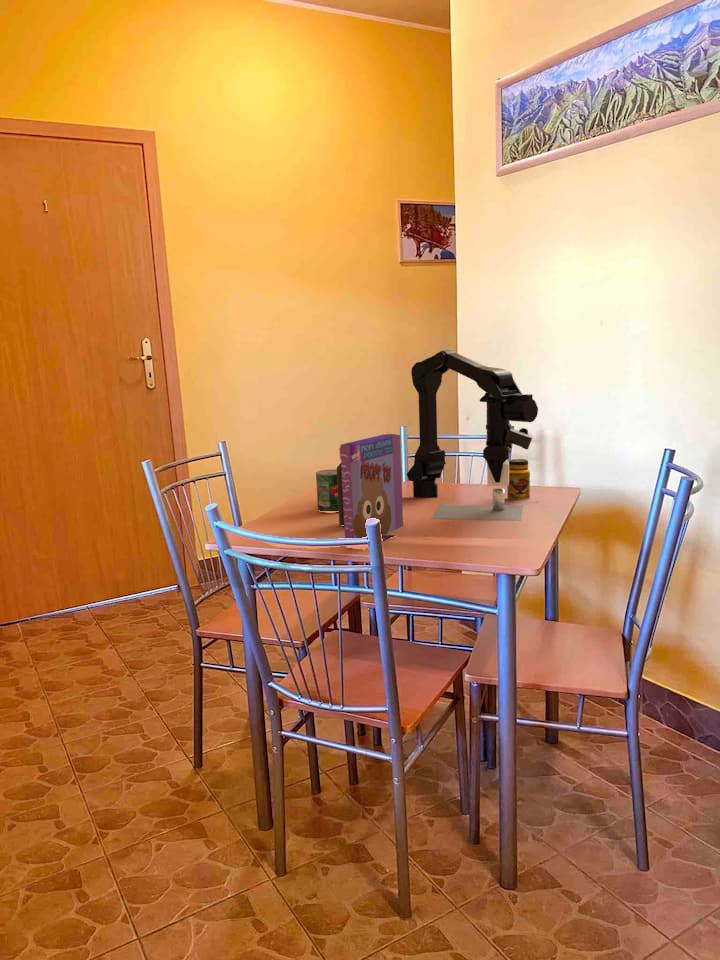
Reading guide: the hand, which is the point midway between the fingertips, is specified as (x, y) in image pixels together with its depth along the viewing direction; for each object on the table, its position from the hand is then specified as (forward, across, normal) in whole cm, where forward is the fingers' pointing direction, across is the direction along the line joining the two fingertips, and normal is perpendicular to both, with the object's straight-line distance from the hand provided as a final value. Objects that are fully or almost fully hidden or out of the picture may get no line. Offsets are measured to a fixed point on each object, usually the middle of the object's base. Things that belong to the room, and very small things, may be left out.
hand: (498, 480), depth 183 cm
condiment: (+10, +16, -4) cm, 19 cm away
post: (+9, 0, 0) cm, 9 cm away
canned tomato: (+10, +2, +46) cm, 47 cm away
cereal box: (+10, -26, +27) cm, 39 cm away
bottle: (+10, -13, +36) cm, 39 cm away
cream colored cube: (+1, 0, 0) cm, 1 cm away
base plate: (+9, -3, +5) cm, 11 cm away
